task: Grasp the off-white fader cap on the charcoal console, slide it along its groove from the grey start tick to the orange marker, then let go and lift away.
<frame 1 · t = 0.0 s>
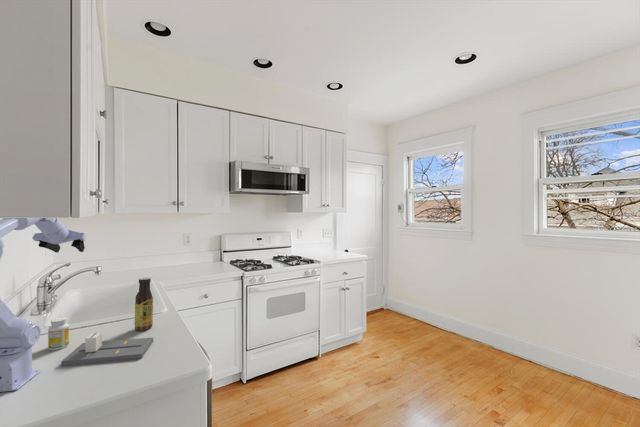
hand: (70, 249, 109), 32 cm above the worktop, tool tilted 50°, fingers open, 7 cm apart
supplement bottle: (58, 347, 103), on the worktop
sauce bottle: (144, 328, 119), on the worktop
fader console: (111, 352, 99), on the worktop
fader cap: (93, 341, 98), point 4 cm above the worktop, slide at 0.0 cm
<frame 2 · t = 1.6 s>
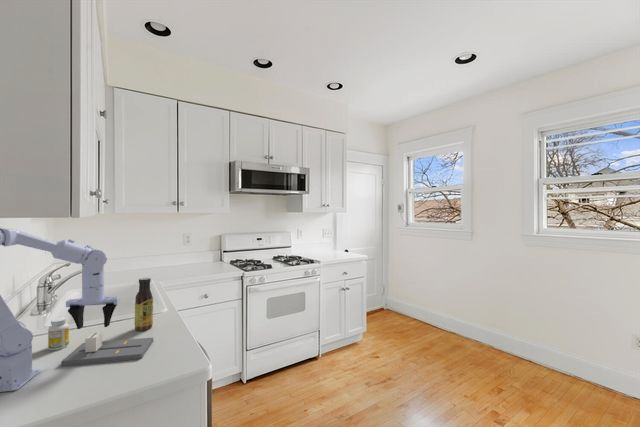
hand: (93, 326, 98), 9 cm above the worktop, tool pointing down, fingers open, 7 cm apart
nothing on the worktop moved.
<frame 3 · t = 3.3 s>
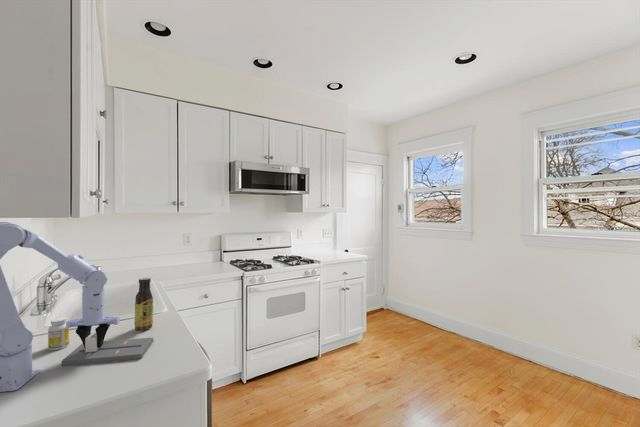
hand: (93, 347, 98), 2 cm above the worktop, tool pointing down, fingers closed on fader cap, 3 cm apart
fader cap: (93, 341, 98), point 4 cm above the worktop, slide at 0.0 cm, touching gripper
everything else where it was.
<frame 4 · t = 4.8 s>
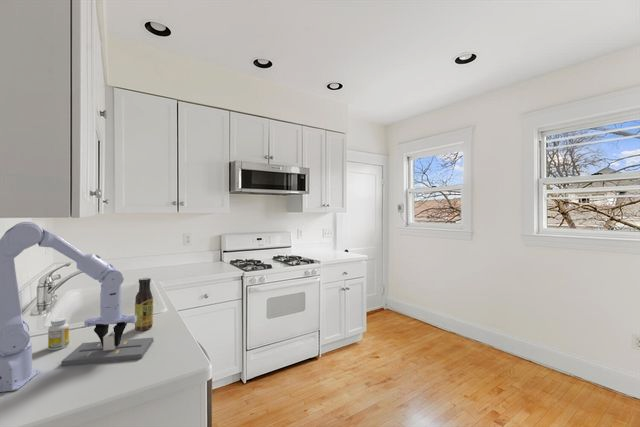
hand: (111, 345, 99), 2 cm above the worktop, tool pointing down, fingers closed on fader cap, 3 cm apart
fader cap: (111, 340, 99), point 4 cm above the worktop, slide at 5.1 cm, touching gripper
everything else where it was.
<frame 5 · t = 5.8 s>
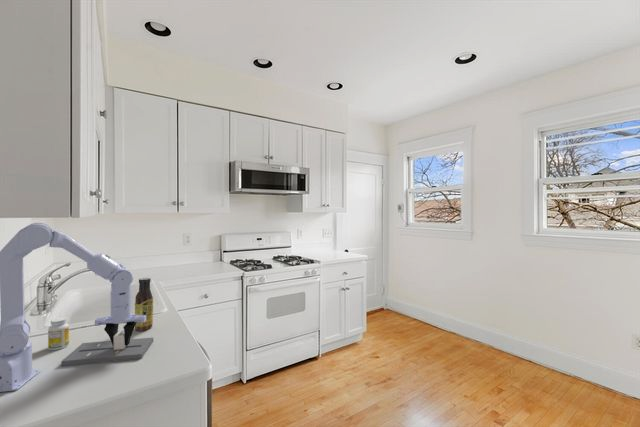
hand: (121, 344, 100), 2 cm above the worktop, tool pointing down, fingers closed on fader cap, 3 cm apart
fader cap: (121, 339, 100), point 4 cm above the worktop, slide at 8.0 cm, touching gripper
everything else where it was.
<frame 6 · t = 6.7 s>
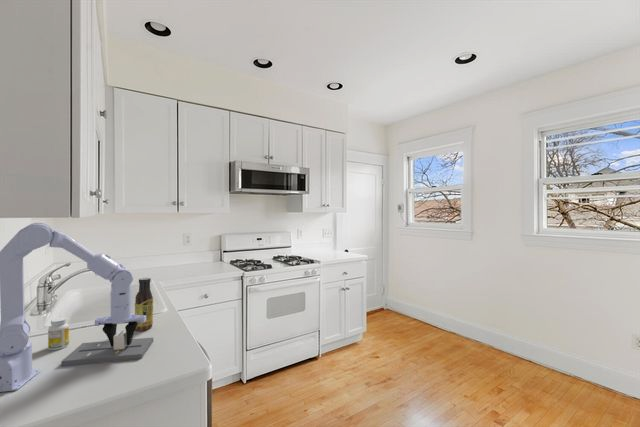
hand: (121, 344, 100), 2 cm above the worktop, tool pointing down, fingers open, 4 cm apart
fader cap: (121, 339, 100), point 4 cm above the worktop, slide at 8.0 cm
everything else where it was.
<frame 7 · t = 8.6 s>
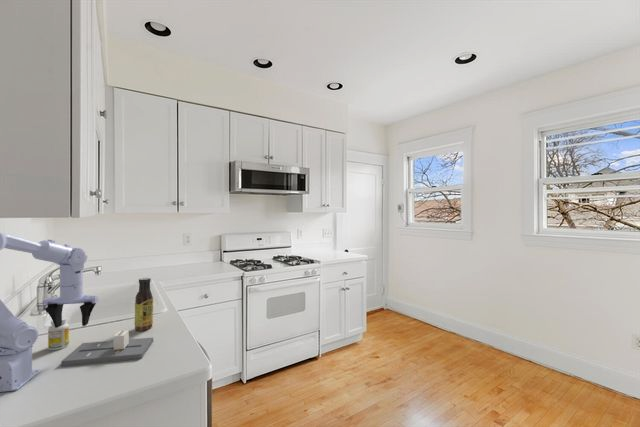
hand: (71, 325, 98), 9 cm above the worktop, tool pointing down, fingers open, 7 cm apart
nothing on the worktop moved.
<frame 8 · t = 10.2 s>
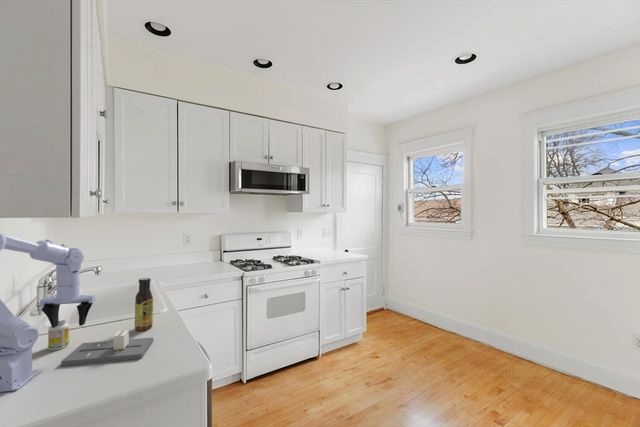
hand: (68, 325, 98), 9 cm above the worktop, tool pointing down, fingers open, 7 cm apart
nothing on the worktop moved.
at the end: fader cap slide at 8.0 cm; the gripper is holding nothing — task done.
